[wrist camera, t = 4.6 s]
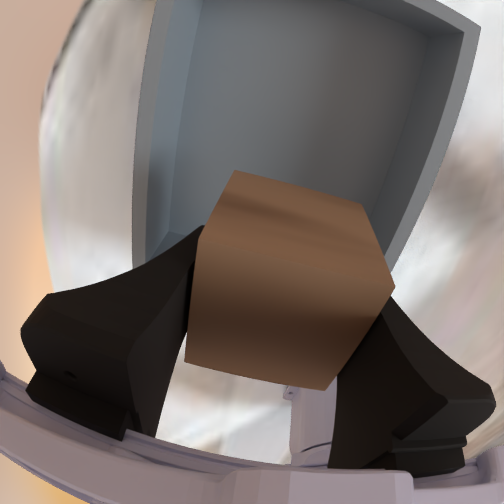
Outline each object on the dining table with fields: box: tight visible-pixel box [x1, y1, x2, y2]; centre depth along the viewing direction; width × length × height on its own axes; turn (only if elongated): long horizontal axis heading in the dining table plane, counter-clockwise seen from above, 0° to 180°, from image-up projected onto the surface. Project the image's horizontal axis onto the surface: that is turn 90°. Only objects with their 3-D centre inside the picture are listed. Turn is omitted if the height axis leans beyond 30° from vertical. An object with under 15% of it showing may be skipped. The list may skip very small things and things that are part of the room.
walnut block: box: [184, 170, 395, 391], centre depth 11 cm, size 5×5×5 cm
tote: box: [132, 0, 481, 273], centre depth 15 cm, size 18×14×5 cm
